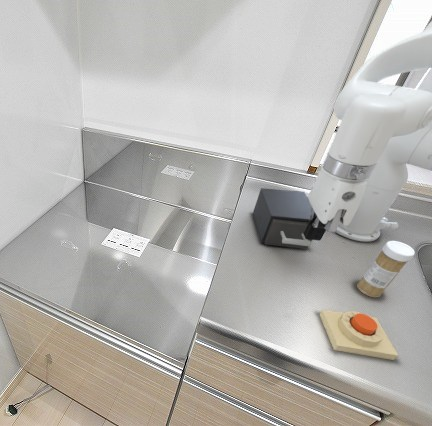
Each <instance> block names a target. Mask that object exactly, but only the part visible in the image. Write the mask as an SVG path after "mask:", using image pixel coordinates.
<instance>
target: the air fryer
mask: <svg viewBox="0 0 432 426" xmlns="http://www.w3.org/2000/svg"><path fill="white" fill-rule="evenodd" d="M307 195H308V194H306V192H305V191H301V190H300V191H298V190H288V189H275V188H264V187H263V188H262V187H261V188H260V190H259V193H258V196H257V200H256V202H255V205H254V208H253V212H252V218H253V221H254V224H255V228H256V231H257V235H258V239H259V242H260V244H262V245H266V244H265V242H264V241H265V238H266V235H267V233H268V230H269V228H270V225H271V223H272V220H273V219H284V220H294V221H304V222H309V221H310V219H309V217H310V214H311V212H312V206H311V204H310V202H309V198H308V197H309V196H307Z"/></svg>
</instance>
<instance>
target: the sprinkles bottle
mask: <svg viewBox="0 0 432 426" xmlns="http://www.w3.org/2000/svg"><path fill="white" fill-rule="evenodd" d="M415 254H416V252H415V250H414V248H412V247H411V246H410V245H408V244H406V243H404V242H401V241H397V240H388V241H387V242H385V244H384V245H383V247H382V248H381V251H380V253H379V254H378V255H377V257H376V258H375V260H374V261H372V263H371V264H370V266H369V267H368V269H367V270H366V271H365V273H364V274H363V276H362V278H361V279H360V281H358V282H357V283H356V288H357V289H358V290H359V292H361V293H362V294H364V295H365V296H368V297H370V298H380V297H381V296H382V293H383V292H384V291H385V290H386V289H387V288H388V287H389V286H390V284H391V283H392V282H393V281H394V280H395V278H396V277H397V275H398V274H399V273H400V272H401V270H402V269H403V268H404V266H405V265H406V264H407V263H408V262H410V261H411V260H412V258H413V257H414V256H415Z"/></svg>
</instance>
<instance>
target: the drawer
mask: <svg viewBox="0 0 432 426" xmlns="http://www.w3.org/2000/svg"><path fill="white" fill-rule="evenodd" d="M307 224H308V222H304V221H294V220H284V219H273V220H272V223H271V225H270V228H269V230H268V233H267V235H266V238H265V241H264V242H265V244H264V245H269V246H276V247H285V248H294V249H295V248H296V249H303V250H308V248H309V247H311V244H312V241H313V240H308V239H305V236H304V234H303V233H304V231H305V229H306V227H307Z"/></svg>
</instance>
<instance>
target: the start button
mask: <svg viewBox="0 0 432 426" xmlns="http://www.w3.org/2000/svg"><path fill="white" fill-rule="evenodd" d="M371 317H372V316H369V315H367V314H365V313H362V314H356V315H355V316H354V317H353V318H352V320H351V322H350V323H351V326H352V327H353V328H354V329H355V330H356V331H357V332H359V333H361V334H363V335H372V334H373V333H374V332H375V330H376V329H377V327H378V326H377V323H376V322H375V321H374V320H373V319H372V318H371Z"/></svg>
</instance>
